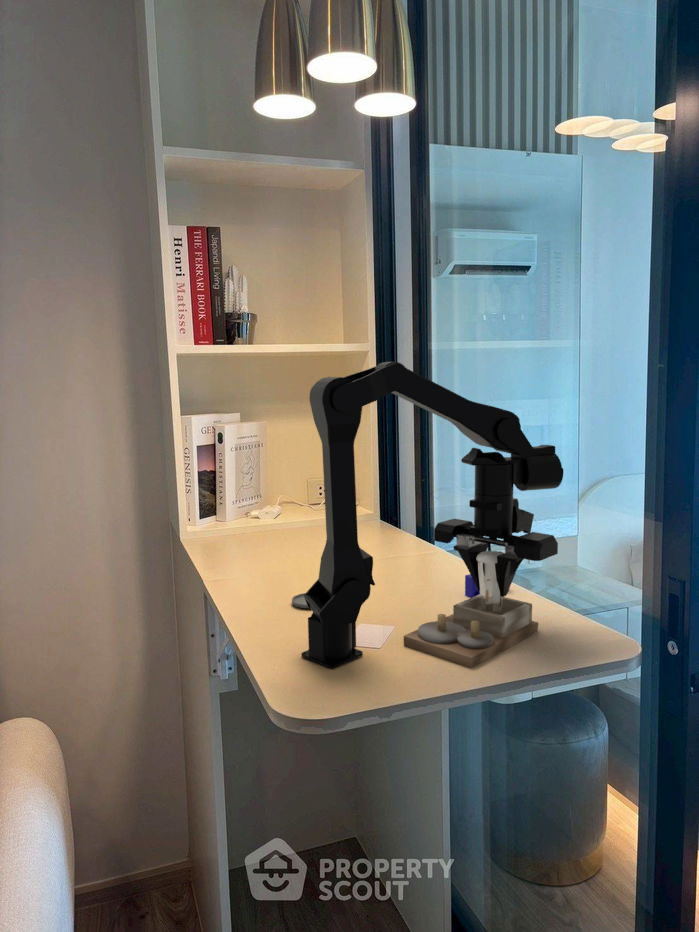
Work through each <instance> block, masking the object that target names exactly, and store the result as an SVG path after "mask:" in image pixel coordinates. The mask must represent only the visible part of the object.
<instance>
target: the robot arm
mask: <svg viewBox="0 0 699 932" xmlns="http://www.w3.org/2000/svg"><path fill="white" fill-rule="evenodd" d="M390 393H391V394H393V395H395V396H397V397H399V398H402V399H403V400H405V401H407V402H409V403H411V404H414V405H415V406H417V407H420V408H421V409H423V410H425V411H427V412H429V413H432V414H433V415H435V416H437V417H440V418H442V419H444V420H446V421H447V422H450V423H451V424H452V425H453V426H455V428H457V429H458V430H459V431H460V432H461V434H463V435H464V436H465V437H467V438H468V439H469V440H471V441H472V442H474V444H477V445H479V446H482V447H485V448H491V449H493V450H494V451H489V452H488V451H486V452H485V451H482V450H481V448H477V447H472V448H471V449H470V451H469V452H468V453H466V454H465V456H463V457H462V458H461V460H460V461H461V463H463V464H465V465H470V466H474V498H473V499H470V500H469V503H468V505H469V508H473V509H474V515H473V522H474V523H473V522H472V521H471V520H463V519H460V518H452V519H448V520H444V521H439V522H437V524H435V527H434V528H433V541H434V542H439V543H443V544H450V543H452V541H453V540H454V539H456V540H455V541H456V545H453V546H452V547H453V550H454V551H457V552H458V554H459V555H460V558H461V559H462V561H463V563H464V565H465V566H466V568H467V570H468V572H469V574H471V577H472V579H473V581H474V583H475V585H476V587H477V589H478V591H480V588H479V578H478V571H477V562H476V557H477V555H478V554H479V553H481V552H485V551H488V544H491V545H495V546H499V547H504V552H503V553H504V554H501V555H498V556H497V565H498V578H499V589H500V594H501V596H502V597H506V596H507V595H508V592H509V590H510V587H511V585H512V583H513V580H514V578H515V575H516V573H517V571H518V568H519V567H520V565H521V563H522V562H523V561H524V560H528V561H532V562H542V561H543V560H545V559H549V558H551V557H554V556H556V555H558V554H559V553H558V551H559V550H558V549H559V542H558V541H557V539H556V538H555V536H554V535H553V534H548V533H541V532H536V531H532V526H533V522H534V516H535V514H534V513H531V512H529V511H527V510H524V509H521V508H519V505H520V503H519V499H518V498H515V497H514V486H515V487H516V488H517V490H519V491H521V492H526V491H539V490H540V491H541V490H551V489H557V488H559V487H560V485H561V484H562V481H563V478H564V468H563V466H562V462H561V460H560V459H561V458H559V456H558V455H557V453H556V446H555V445H552V444H551V445H550V444H540V445H538V446H537V445H536V446H533V445H532V443H531V442H530V440H529V439H528V438H527V436H526V435H525V433H524V432H523V430H522V426H521V420H520V417H519V416H518V415H517V414H515V412H512V411H510V410H507V409H503V408H499V407H496V406H492V405H488V404H483V403H480V402H477V401H476V402H475V401H472V400H469V399H468V398H465V397H464V396H461V395H460V394H457V393H456V392H454V391H452V390H450V389H448V388H446V387H444V386H442V385H440V384H438V383H436V382H435V381H432V380H431V379H428V378H427V377H425V376H422V375H420V374H419V373H416V372H415V371H413V370H411V369H409V368H407V367H406V366H405V365H404V364H402V363H401V362H398V361H386V362H381V363H378V364H377V365H375V366H373V367H370V368H367V369H365V370H361V371H359V372H355V373H352V374H349V375H346V376H344V377H341V376H326V377H322V378H321V379H319V380H317V381H316V382H315V383H314V385H312V386H311V388H310V390H309V398H308V399H309V404H310V408H311V412H312V413H311V414H312V418H313V421H314V425H315V428H316V431H317V433H318V436H319V438H320V442H321V445H322V446H321V448H322V466H323V468H322V471H323V488H324V508H325V509H324V510H325V511H324V512H325V531H326V541H325V545H324V548H323V551H322V554H321V557H320V564H319V571H318V578H317V580H315V582H314V583H313V584H312V585H311V587H309V589H308V590H307V591H306V592H304V593H305V594H304V598H305V601H306V603H307V606H308V608H307V609H310V610H311V612H312V613H311V615H310V616H308V617H307V630H308V631H307V634H308V635H307V636H308V637H307V638H308V650H305V651H302V652H301V657H302V658H303V659H306V660H309V661H311V662H314V663H316V664H319V665H321V666H324V667H326V668H328V669H335V668H337V667H340V666H341V665H344V664H346V663H349V662H351V661H354V660H355V659H357V658H359V657H362V656H363V655H364V653H363V651H362V650H359V649H357V648H356V647H357V630H356V629H357V625H356V624H357V621H358V617H359V615H360V611H361V609H362V606H363V605H364V603H365V602H366V601H367V600H368V599H369V597H370V595H371V586H373V587H374V586H376V583H375V581H374V578H373V569H374V568H373V567H374V556H372V555H371V554H369V553H368V552H366V551H365V550H364V549H362V548H361V546H360V545H359V538H358V537H359V536H358V534H359V533H358V515H357V512H358V511H357V492H356V491H357V488H356V468H355V467H356V465H355V463H356V462H355V441H356V436H357V434H358V432H359V429H360V424H361V421H362V420H361V419H362V413H363V407H365V406H367V405H370V404H372V403H374V402H376V401H378V400H380V399H382V398H384V397H385V396H387V395H390ZM500 452H501V453H500ZM502 453H505V454H510V456H507V457H506V456H505V457H504V455H503V454H502ZM521 532H522V533H524V534H523V535H519V536H518V535H514V533H515V534H519V533H521Z"/></svg>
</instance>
